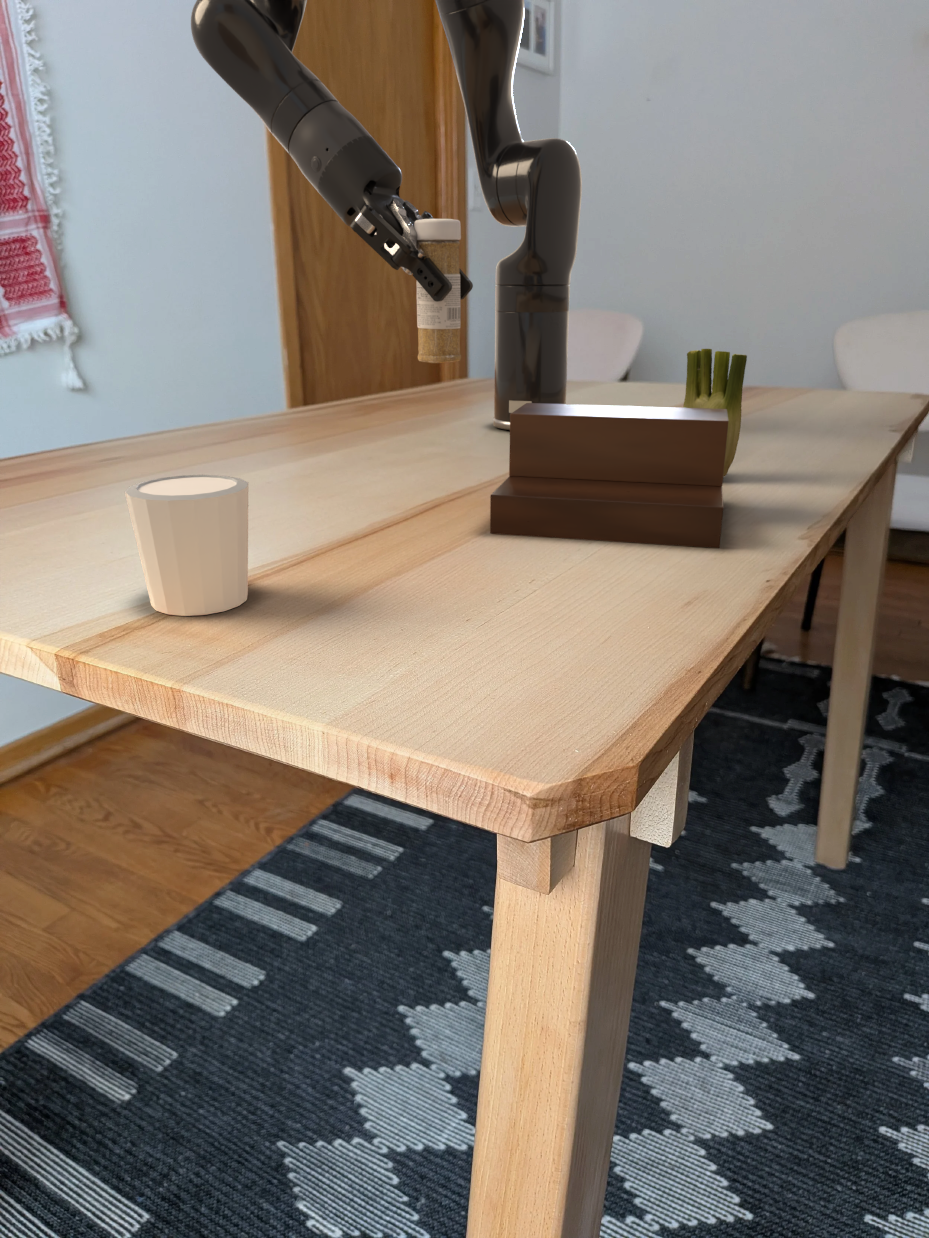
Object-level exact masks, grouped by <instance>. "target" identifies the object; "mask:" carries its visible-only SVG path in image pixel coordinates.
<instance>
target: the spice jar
mask: <svg viewBox="0 0 929 1238" xmlns="http://www.w3.org/2000/svg"><path fill="white" fill-rule="evenodd" d="M461 226H462V225H461V220H459V219H454V218H434V219H422V220H416V221H415V222H414V228H415V230H416V232H417V240H418V243H419V244H420V245H421V247H422V248H423V250H424V251H425V253H426V255H427V256H426V257H425V258H424V259H426V258H430V259H431V260H432V261H433V263H434V264H435V265H436V266H437V267H438V268H439V270H440V271H441V272H442V273H443V274H444V275H445V277H446V278H447V279H448V280H449V281H450V282H451V284H452V290H451V291H450V292H449V293H448V295H447V296H446V297H445V298H444V299H443V300H442V301H434V300H433V299H432V298H431V296H430V295H429V294H428V293H427V292H426V291H425V289H424V288H423V287H422V286H421V285H420V284H419V282H418V281H417V280H416V279H415V280H416V327H417V337H418V338H417V339H418V341H417V343H418V347H417V349H418V350H417V351H418V354H417V360H418V361H419V362H421V363H427V364H454V363H457V362H460V361H461V359H462V354H461V345H460V343H461V341H460V340H461V339H460V336H461V331H460V330H461V326H462V325H461V321H462V320H461V317H462V316H461V311H462V310H461V300H460V273H459V268H460V245H461V242H460V240H461V239H462V227H461Z"/></svg>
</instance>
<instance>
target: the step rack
mask: <svg viewBox="0 0 929 1238" xmlns="http://www.w3.org/2000/svg"><path fill="white" fill-rule="evenodd" d="M728 422H729V421H728V414H727V409H710V408H683V407H677V406H674V407H671V406H667V407H666V406H642V405H641V406H637V405H607V404H577V403H575V404H571V403H566V404H543V403H526V404H524V405H523V406H521V407H520V408H518V409H517V410H515V411H514V412H512V413H511V414H510V430H509V453H508V454H509V458H508V459H509V463H508V464H509V466H508V476H507V478H506V479H505V480H504V481H503V482H502V483H501V484H499V486H498V487H497V488H496V489H495V490H494V491H493V492H492V493H491V494H490V496H489V497H490V501H489V502H490V503H489V504H490V505H489V509H490V510H489V511H490V512H489V513H490V514H489V533H490V534H492V535H506V536H507V535H511V536H525V537H526V536H527V537H541V538H555V539H556V538H557V539H570V540H573V539H574V540H586V541H587V540H589V541H601V542H602V541H603V542H618V543H619V542H620V543H633V544H635V543H636V544H648V545H649V544H652V545H666V546H680V547H682V546H683V547H696V548H698V547H699V548H711V549H713V548H714V549H719V548H720V546H721V538H722V537H721V536H722V528H723V527H722V526H723V515H724V494H723V484H724V483H723V482H724V477H723V473H724V463H725V453H726V443H727V433H728Z"/></svg>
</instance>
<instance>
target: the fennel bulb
mask: <svg viewBox="0 0 929 1238" xmlns="http://www.w3.org/2000/svg"><path fill="white" fill-rule="evenodd" d="M730 358H731V361H730ZM686 360H687V361H686V380H685V394H684V400H683V405H682V408H710V409H727V414H728V421H729V422H728V433H727V443H726V453H725V463H724V473H723V478H724V477H726V476H727V475H728V472H729V469H730V468H731V465H732V464H733V462H734V460H735V456H736V453H737V448H738V444H739V440H740V434H741V433H740V432H741V425H742V407H743V405H742V403H743V387H744V379H745V374H746V373H745V372H746V367H747V360H748V355H747V354H739V353H733V354H732V355H731V352H730V351H724V350H716V351H715V352H714V360H713V349H712V348H701V350H700V349H695V350H689V351H687V353H686ZM712 374H713V375H712Z"/></svg>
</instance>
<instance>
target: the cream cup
mask: <svg viewBox="0 0 929 1238" xmlns="http://www.w3.org/2000/svg"><path fill="white" fill-rule="evenodd" d="M124 495H125V499H126V504H127V508H128V512H129V516H130V517H129V518H130V521H131V525H132V529H133V533H134V538H135V542H136V546H137V551H138V556H139V559H140V563H141V568H142V572H143V576H144V581H145V584H146V585H145V586H146V589H147V594H148V597H149V602H150V606H151V607H152V608H153V609H154V610H155V611H156V612H159V613H162V614H165V615H168V616H169V615H170V616H180V617H181V616H182V617H190V616H192V617H193V616H206V615H211V614H217V613H223V612H226V611H229V610H231V609H234V608H237V607H239V606H241V605H242V604H243V603H245V602H246V601H247V600H248V595H249V481H247V480H245V479H244V478H243V479H242V478H240V477H235V476H231V475H219V474H217V475H216V474H188V475H187V474H186V475H183V474H182V475H176V476H175V475H174V476H166V477H158V478H154V479H148V480H144V481H140V482H137V483H135V484H132V485H130V486H128V487H127V488H126V489H125V491H124Z"/></svg>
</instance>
